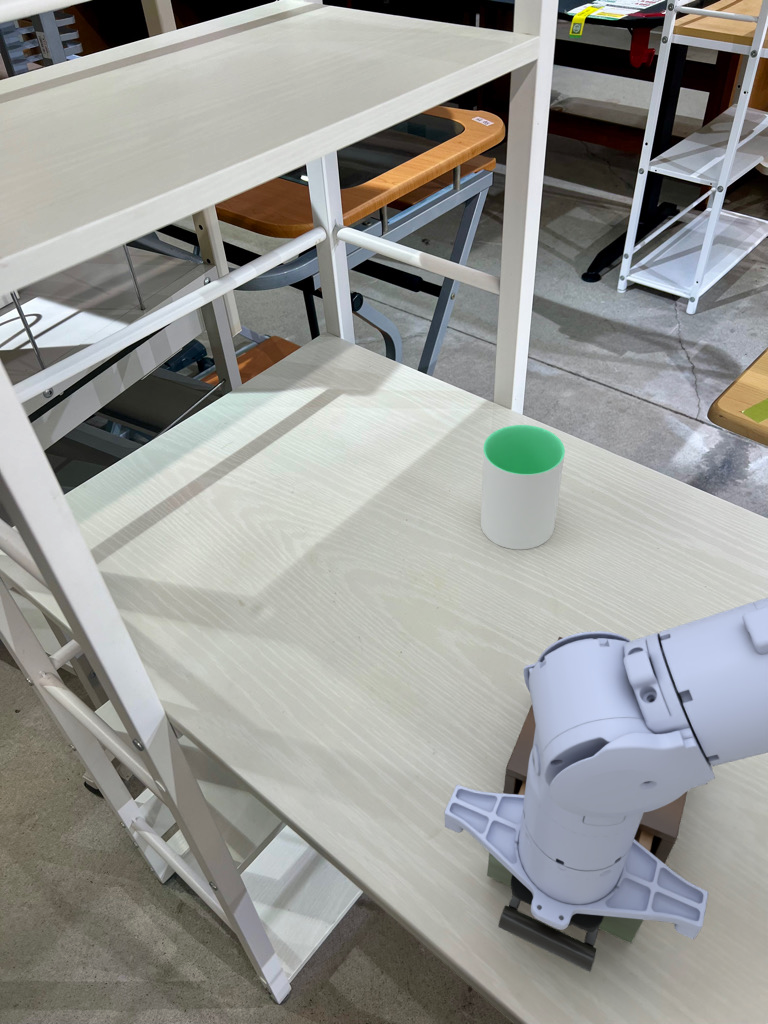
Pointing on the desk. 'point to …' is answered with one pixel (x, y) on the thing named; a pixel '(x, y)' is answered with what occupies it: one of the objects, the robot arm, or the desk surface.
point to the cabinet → (654, 822)
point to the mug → (521, 486)
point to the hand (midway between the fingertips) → (555, 909)
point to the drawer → (551, 937)
